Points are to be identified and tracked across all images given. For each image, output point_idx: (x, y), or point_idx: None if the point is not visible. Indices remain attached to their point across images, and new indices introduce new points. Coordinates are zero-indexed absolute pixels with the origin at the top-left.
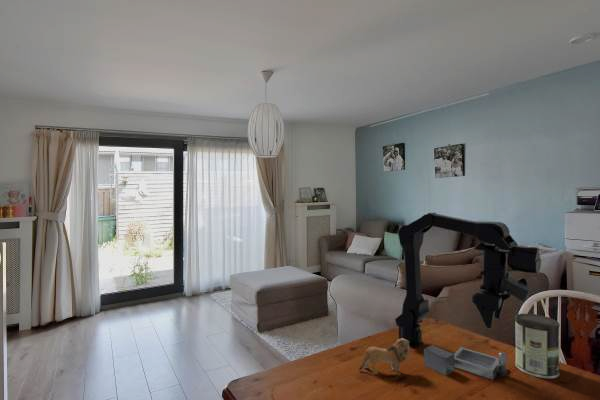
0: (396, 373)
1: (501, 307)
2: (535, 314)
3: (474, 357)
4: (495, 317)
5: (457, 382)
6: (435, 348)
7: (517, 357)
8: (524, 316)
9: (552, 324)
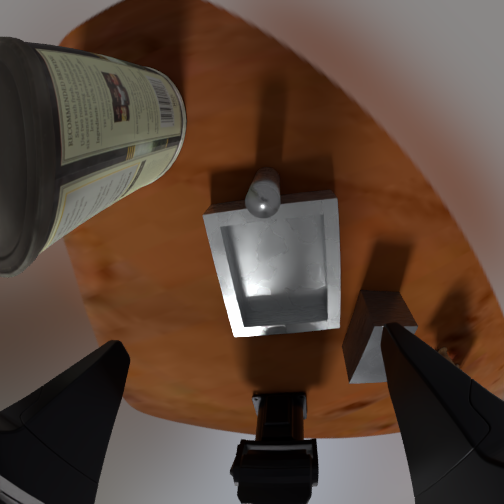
0: (446, 352)
1: (63, 396)
2: None
3: (239, 286)
4: (128, 358)
5: (414, 257)
6: (367, 370)
7: (153, 174)
8: None
9: None
